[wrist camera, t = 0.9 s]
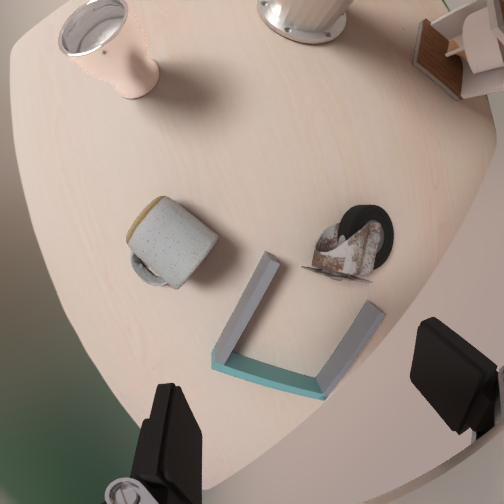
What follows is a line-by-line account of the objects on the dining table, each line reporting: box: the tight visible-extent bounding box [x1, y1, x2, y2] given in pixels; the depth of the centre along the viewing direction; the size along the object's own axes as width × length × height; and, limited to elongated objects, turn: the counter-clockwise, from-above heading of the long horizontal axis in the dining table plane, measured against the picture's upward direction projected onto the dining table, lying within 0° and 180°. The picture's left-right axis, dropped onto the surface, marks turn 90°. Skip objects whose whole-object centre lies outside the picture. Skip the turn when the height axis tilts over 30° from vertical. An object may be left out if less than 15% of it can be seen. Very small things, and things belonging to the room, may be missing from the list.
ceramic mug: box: [126, 196, 218, 289], centre depth 30 cm, size 11×8×8 cm
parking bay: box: [211, 251, 385, 401], centre depth 36 cm, size 16×18×4 cm
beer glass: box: [58, 0, 159, 99], centre depth 21 cm, size 7×7×15 cm
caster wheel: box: [302, 205, 394, 283], centre depth 33 cm, size 7×11×10 cm
